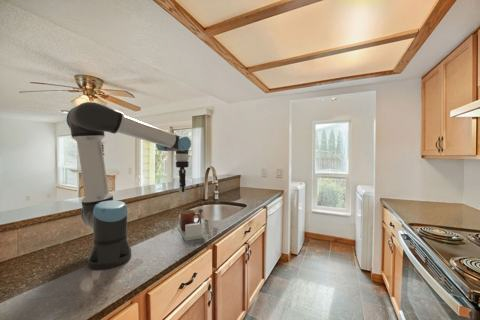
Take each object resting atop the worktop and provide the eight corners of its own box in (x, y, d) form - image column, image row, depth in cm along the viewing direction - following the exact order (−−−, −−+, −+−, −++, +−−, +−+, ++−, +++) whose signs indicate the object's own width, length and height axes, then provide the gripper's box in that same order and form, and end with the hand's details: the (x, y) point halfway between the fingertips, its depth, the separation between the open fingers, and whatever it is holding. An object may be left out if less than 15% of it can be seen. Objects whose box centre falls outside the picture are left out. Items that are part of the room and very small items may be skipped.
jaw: (179, 225, 121) (179, 216, 121) (177, 221, 128) (177, 213, 128) (192, 223, 124) (192, 214, 124) (189, 220, 131) (189, 211, 131)
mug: (176, 231, 112) (176, 213, 111) (183, 226, 120) (184, 209, 120) (196, 233, 109) (196, 214, 109) (202, 228, 118) (203, 210, 118)
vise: (185, 240, 103) (185, 211, 103) (177, 227, 123) (177, 202, 122) (203, 237, 107) (203, 209, 107) (192, 225, 127) (193, 201, 127)
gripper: (190, 161, 114) (190, 198, 114) (186, 160, 137) (186, 191, 138) (176, 161, 111) (176, 199, 112) (175, 160, 135) (175, 192, 135)
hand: (182, 195), depth 125 cm, fingers open, 13 cm apart
